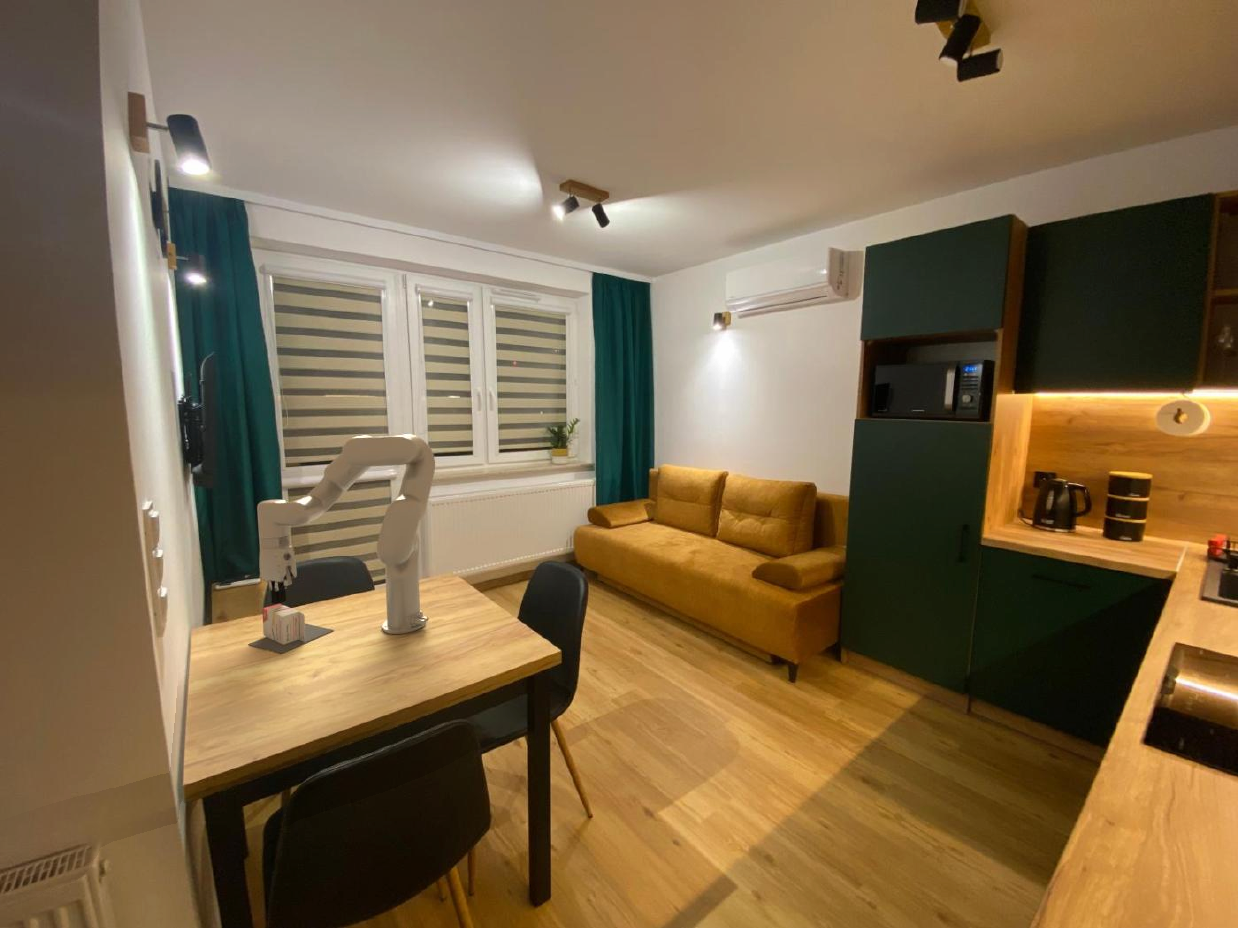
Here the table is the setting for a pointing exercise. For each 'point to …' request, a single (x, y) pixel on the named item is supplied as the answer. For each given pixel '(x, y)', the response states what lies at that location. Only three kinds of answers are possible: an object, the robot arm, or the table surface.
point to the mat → (310, 634)
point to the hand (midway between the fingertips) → (279, 602)
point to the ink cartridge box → (283, 624)
